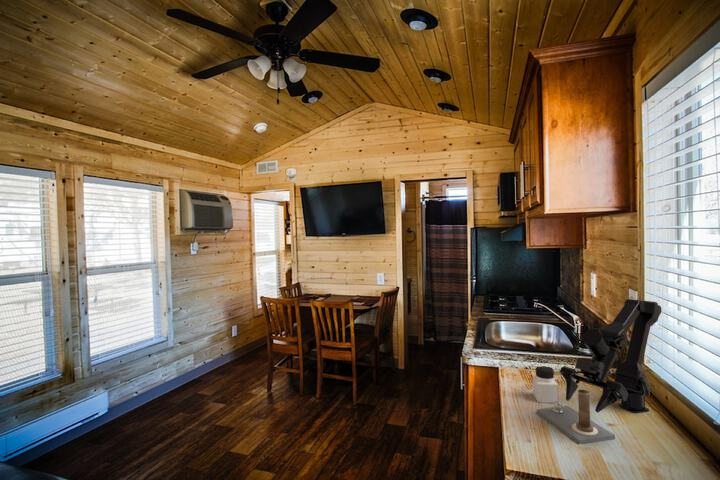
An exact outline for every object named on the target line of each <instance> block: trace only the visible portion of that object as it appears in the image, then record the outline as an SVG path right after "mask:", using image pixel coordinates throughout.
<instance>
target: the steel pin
mask: <svg viewBox="0 0 720 480" xmlns="http://www.w3.org/2000/svg"><path fill="white" fill-rule="evenodd" d="M553 404H554V407H555V408H553V407H552V408H553V412H555V413H558V414H562V413H563V410H562V409H561V406H562V402H561V401H560V400H558V401H554V403H553Z"/></svg>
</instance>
